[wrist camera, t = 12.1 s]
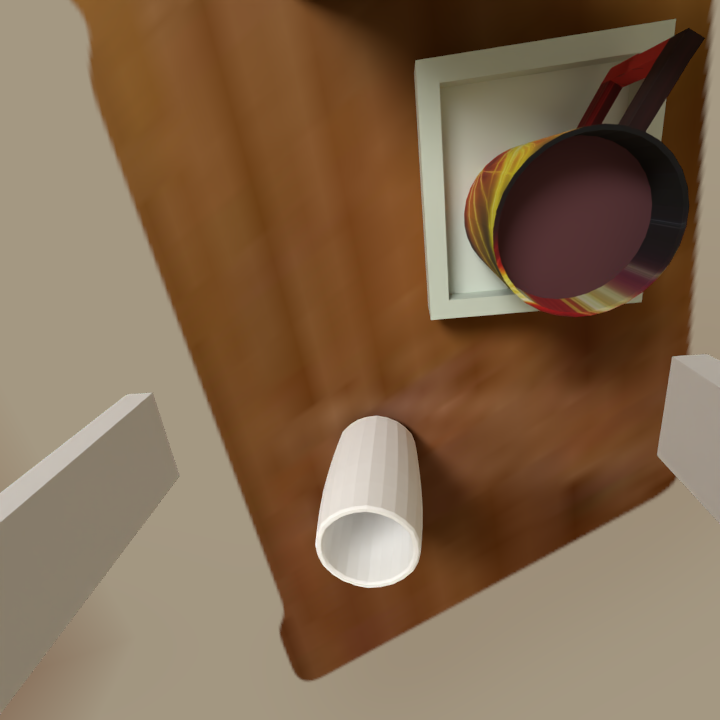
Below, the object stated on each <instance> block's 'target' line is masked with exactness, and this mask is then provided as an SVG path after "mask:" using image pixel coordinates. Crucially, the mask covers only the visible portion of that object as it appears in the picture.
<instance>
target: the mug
mask: <svg viewBox="0 0 720 720" xmlns="http://www.w3.org/2000/svg"><path fill="white" fill-rule="evenodd" d="M704 39H705V38H704V37H702V36H701V35H699V34H697V33H696V32H694V31H693V30H691V29H690V28H688V29H686V30H684V31H682V32H680V33H678V34H677V35H675V36H673V37H671V38H669V39H667V40H665V41H663V42H661V43H660V44H658V45H656V46H654V47H652V48H650V49H648V50H646V51H644V52H643V53H641V54H639V53H638V54H636V55H635V56H633V57H631V58H629V59H627V60H625V61H623V62H621V63H620V64H618V65H616V66H614V67H612V68H611V69H610V70H609V72H608V73H607V75H606V77H605V78H604V80H603V82H602V83H601V85H600V87H599V89H598V90H597V92H596V94H595V96H594V98H593V99H592V101H591V103H590V105H589V107H588V108H587V110H586V112H585V114H584V115H583V117H582V119H581V121H580V123H579V124H578V126H577V128H576V129H573V130H570V131H567V132H563V133H560V134H556V135H553V136H549V137H546V138H543V139H539V140H536V141H532V142H529V143H525V144H522V145H519V146H516V147H513V148H511V149H508V150H506V151H505V152H503V153H501V154H500V155H498V156H496V157H495V158H494V159H493V160H492V161H490V162H489V163H488V164H487V165H486V166H485V167H484V168H483V170H482V171H481V172H480V173H479V174H478V176H477V177H476V179H475V181H474V183H473V184H472V186H471V188H470V191H469V193H468V196H467V199H466V204H465V210H464V226H465V230H466V234H467V238H468V240H469V242H470V245H471V247H472V249H473V250H474V251H475V253H476V254H477V255H478V256H479V258H480V259H481V260H482V261H483V262H484V263H485V264H486V265H487V266H488V267H489V268H490V269H491V270H492V271H493V272H494V273H495V274H496V275H497V276H498V277H499V278H500V279H501V280H502V281H503V282H504V283H505V284H506V286H507V287H508V288H509V289H510V290H511V291H512V292H513V293H514V294H516V295H517V296H518V297H519V298H520V299H521V300H523V301H524V302H525V303H526V304H528V305H530V306H532V307H534V308H536V309H538V310H539V311H542V312H546V313H549V314H553V315H556V316H566V317H581V316H591V315H595V314H599V313H603V312H606V311H610V310H612V309H614V308H616V307H618V306H621V305H623V304H625V303H627V302H629V301H630V300H632V299H633V298H635V297H636V296H638V295H639V294H641V293H642V292H643V291H645V290H646V289H647V288H648V287H649V286H650V285H651V284H652V283H653V282H654V281H655V280H657V279H658V277H659V276H660V275H661V274H662V272H663V271H664V270H665V269H666V267H667V266H668V265H669V264H670V262H671V260H672V258H673V257H674V255H675V253H676V251H677V249H678V248H679V246H680V243H681V240H682V237H683V235H684V232H685V229H686V225H687V218H688V211H689V198H688V186H687V183H686V180H685V176H684V173H683V170H682V168H681V166H680V165H679V163H678V161H677V159H676V158H675V156H674V154H673V153H672V152H671V151H670V150H669V149H668V148H667V147H666V146H665V145H664V144H663V143H662V142H661V141H660V140H659V139H657V138H655V137H654V136H652V135H650V134H648V133H647V132H646V131H647V129H648V127H649V126H650V124H651V122H652V121H653V119H654V118H655V116H656V114H657V113H658V111H659V110H660V108H661V106H662V105H663V103H664V101H665V100H666V98H667V97H668V95H669V93H670V92H671V90H672V88H673V87H674V85H675V84H676V82H677V80H678V79H679V77H680V76H681V74H682V72H683V71H684V69H685V67H686V66H687V64H688V63H689V61H690V59H691V58H692V56H693V55H694V53H695V52H696V50H697V49H698V48H699V46H700V45H701V43H702V42H703V40H704ZM644 78H645V80H644V81H643V83H642V85H641V86H640V88H639V90H638V91H637V93H636V95H635V96H634V98H633V100H632V102H631V103H630V105H629V107H628V108H627V110H626V112H625V113H624V115H623V117H622V118H621V120H620V122H619V124H602V122H603V121H604V119H605V117H606V115H607V114H608V112H609V110H610V108H611V107H612V105H613V103H614V102H615V100H616V98H617V96H618V95H619V93H620V91H621V89H622V88H623V87H625V86H627V85H630V84H632V83H634V82H637V81H639V80H642V79H644Z"/></svg>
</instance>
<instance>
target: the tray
mask: <svg viewBox="0 0 720 720" xmlns="http://www.w3.org/2000/svg"><path fill="white" fill-rule="evenodd" d="M675 24H676V19H671V20H665V21H658V22H652V23H646V24H640V25H633V26H627V27H621V28H615V29H608V30H602V31H596V32H590V33H583V34H577V35H571V36H565V37H558V38H552V39H546V40H540V41H533V42H527V43H521V44H515V45H508V46H502V47H496V48H490V49H483V50H477V51H471V52H465V53H458V54H452V55H446V56H439V57H433V58H427V59H421V60H415V69H414V81H415V97H416V113H417V130H418V146H419V162H420V178H421V195H422V211H423V227H424V244H425V260H426V276H427V292H428V307H429V312H430V318H431V320H437V319H449V318H460V317H472V316H484V315H496V314H507V313H519V312H531V311H539V310H538V309H536V308H534V307H532V306H530V305H528V304H526V303H525V302H524V301H523V300H521V299H520V298H519V297H518V296H517V295H516V294H514V293H513V292H512V291H511V290H510V289H509V288H508V287H507V286H506V284H505V283H504V282H503V281H502V280H501V279H500V278H499V277H498V276H497V275H496V274H495V273H494V272H493V271H492V270H491V269H490V268H489V267H488V266H487V265H486V264H485V263H484V262H483V261H482V260H481V259H480V258H479V256H478V255H477V254H476V253H475V251H474V250H473V249H472V247H471V245H470V242H469V240H468V238H467V234H466V230H465V226H464V210H465V204H466V199H467V196H468V193H469V191H470V188H471V186H472V184H473V183H474V181H475V179H476V177H477V176H478V174H479V173H480V172H481V171H482V170H483V168H484V167H485V166H486V165H487V164H488V163H489V162H490V161H492V160H493V159H494V158H495V157H496V156H498V155H500V154H501V153H503V152H505V151H506V150H508V149H511V148H513V147H516V146H519V145H522V144H525V143H529V142H532V141H536V140H539V139H543V138H546V137H549V136H553V135H556V134H560V133H563V132H567V131H570V130H573V129H576V128H577V126H578V124H579V123H580V121H581V119H582V117H583V115H584V114H585V112H586V110H587V108H588V107H589V105H590V103H591V101H592V99H593V98H594V96H595V94H596V92H597V90H598V89H599V87H600V85H601V83H602V82H603V80H604V78H605V77H606V75H607V73H608V72H609V70H610V69H611V68H612V67H614V66H616V65H618V64H620V63H621V62H623V61H625V60H627V59H629V58H631V57H633V56H635V55H636V54H638V53H639V54H641V53H643V52H644V51H646V50H648V49H650V48H652V47H654V46H656V45H658V44H660V43H661V42H663V41H665V40H667V39H669V38H671V37H673V36H674V33H675ZM644 80H645V78H644V79H642V80H639V81H637V82H634V83H632V84H630V85H627V86H625V87H623V88H622V89H621V91H620V93H619V95H618V96H617V98H616V100H615V102H614V103H613V105H612V107H611V108H610V110H609V112H608V114H607V115H606V117H605V119H604V121H603V122H602V124H619V122H620V120H621V118H622V117H623V115H624V113H625V112H626V110H627V108H628V107H629V105H630V103H631V102H632V100H633V98H634V96H635V95H636V93H637V91H638V90H639V88H640V86H641V85H642V83H643V81H644ZM665 107H666V100H665V101H664V103H663V105H662V106H661V108H660V110H659V111H658V113H657V114H656V116H655V118H654V119H653V121H652V122H651V124H650V126H649V127H648V129H647V131H646V132H647V133H648V134H650V135H652V136H654V137H655V138H657V139H659V140H660V141H661V139H662V131H663V123H664V115H665ZM642 296H643V292H642V293H641V294H639V295H638V296H636V297H635V298H633V299H632V300H630V301H629V302H627V303H637V302H642Z"/></svg>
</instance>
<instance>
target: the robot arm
mask: <svg viewBox="0 0 720 720" xmlns="http://www.w3.org/2000/svg"><path fill="white" fill-rule="evenodd" d="M657 456H658V457H659V458H660V459H661V460H662V462H663V463H664V464H665V465H666V466H667V467H668V468H669V469H670V470H671V471H672V472H673V473H674V475H675V476H676V477H677V478H678V479H679V480H680V481H681V482H682V483H683V484H684V485H685V487H686V488H687V489H688V490H689V491H690V492H691V493H692V494H693V495H694V496H695V497H696V498H697V499H698V501H699V502H700V503H701V504H702V505H703V506H704V507H705V508H706V509H707V510H708V512H709V513H710V514H711V515H712V516H713V517H714V518H715V519H716V520H717V521H718V522H719V523H720V361H719V360H718V359H716V358H714V357H712V356H711V355H709V354H700V355H685V356H672V362H671V368H670V375H669V381H668V387H667V394H666V400H665V407H664V413H663V420H662V426H661V433H660V439H659V445H658V452H657ZM178 478H179V473H178V470H177V467H176V464H175V460H174V457H173V455H172V451H171V448H170V445H169V442H168V439H167V436H166V432H165V429H164V426H163V423H162V420H161V417H160V414H159V411H158V408H157V405H156V402H155V398H154V395H153V393H140V394H127V395H125V396H124V397H123V398H122V399H120V400H119V401H118V402H117V403H115V404H114V405H113V406H111V407H110V408H109V409H107V410H106V411H105V412H103V413H102V414H101V415H100V416H98V417H97V418H96V419H94V420H93V421H92V422H91V423H89V424H88V425H87V426H86V427H84V428H83V429H82V430H80V431H79V432H78V433H77V434H75V435H74V436H73V437H71V438H70V439H69V440H68V441H66V442H65V443H64V444H62V445H61V446H60V447H59V448H57V449H56V450H55V451H54V452H52V453H51V454H50V455H48V456H47V457H46V458H44V459H43V460H42V461H41V462H39V463H38V464H37V465H36V466H34V467H33V468H32V469H30V470H29V471H28V472H26V473H25V474H24V475H23V476H21V477H20V478H19V479H18V480H16V481H15V482H14V483H12V484H11V485H10V486H8V488H6V489H5V490H3V491H2V492H1V493H0V714H1V713H2V711H3V710H4V709H5V707H6V706H7V705H8V703H9V702H10V701H11V700H12V698H13V697H14V696H15V694H16V693H17V691H18V690H19V689H20V687H21V686H22V685H23V684H24V682H25V681H26V680H27V678H28V677H29V675H30V674H31V673H32V672H33V670H34V669H35V668H36V666H37V665H38V664H39V662H40V661H41V660H42V658H43V657H44V656H45V654H46V653H47V652H48V650H49V649H50V648H51V646H52V645H53V644H54V642H55V641H56V640H57V638H58V637H59V636H60V634H61V633H62V632H63V630H64V629H65V628H66V626H67V625H68V624H69V622H70V621H71V620H72V618H73V617H74V616H75V614H76V613H77V612H78V610H79V609H80V608H81V607H82V605H83V604H84V603H85V601H86V600H87V599H88V597H89V596H90V595H91V593H92V592H93V591H94V589H95V588H96V587H97V585H98V584H99V583H100V581H101V580H102V579H103V577H104V576H105V575H106V573H107V572H108V571H109V569H110V568H111V567H112V565H113V564H114V563H115V561H116V560H117V559H118V557H119V556H120V555H121V553H122V552H123V550H124V549H125V548H126V546H127V545H128V544H129V542H130V541H131V540H132V539H133V537H134V536H135V535H136V533H137V532H138V530H139V529H140V528H141V527H142V525H143V524H144V523H145V521H146V520H147V519H148V517H149V516H150V515H151V513H152V512H153V511H154V509H155V508H156V507H157V506H158V504H159V503H160V502H161V500H162V499H163V498H164V496H165V495H166V494H167V492H168V491H169V490H170V488H171V487H172V486H173V484H174V483H175V482H176V480H177V479H178Z"/></svg>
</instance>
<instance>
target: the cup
mask: <svg viewBox="0 0 720 720" xmlns="http://www.w3.org/2000/svg"><path fill="white" fill-rule="evenodd" d="M422 529H423V506H422V491H421V481H420V472H419V464H418V457H417V450H416V445H415V441H414V439H413V436H412V434H411V433H410V432H409V431H408V430H407V429H406V427H404V426H403V425H401V424H400V423H399V422H397V421H395V420H392V419H390V418H387V417H382V416H370V417H365V418H362V419H359V420H356V421H355V422H353V423H352V424H350V425H349V426H348V427H347V428H346V429H345V430H344V431H343V433H342V435H341V438H340V440H339V443H338V445H337V448H336V451H335V454H334V456H333V459H332V462H331V466H330V469H329V472H328V476H327V479H326V483H325V487H324V491H323V495H322V501H321V506H320V511H319V519H318V527H317V534H316V544H315V546H316V550H317V554H318V557H319V559H320V560H321V562H322V564H323V566H324V567H325V568H326V569H328V570H329V571H330V572H331V573H332V574H333V575H335V576H336V577H338V578H339V579H341V580H343V581H345V582H348V583H350V584H353V585H356V586H361V587H367V588H372V587H383V586H387V585H391V584H394V583H396V582H398V581H400V580H402V579H404V578H405V577H406V576H408V575H409V574H410V573H411V572H413V571H414V569H415V567H416V565H417V564H418V562H419V558H420V553H421V543H422Z"/></svg>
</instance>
